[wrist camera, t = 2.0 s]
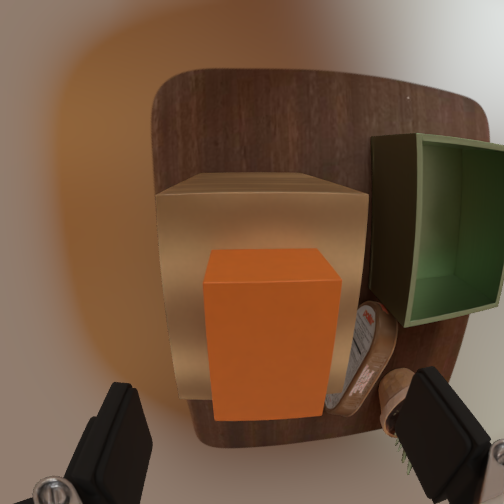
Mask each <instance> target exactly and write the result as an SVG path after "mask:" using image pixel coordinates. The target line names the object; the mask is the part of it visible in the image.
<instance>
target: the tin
mask: <svg viewBox="0 0 504 504" xmlns="http://www.w3.org/2000/svg"><path fill="white" fill-rule="evenodd" d="M397 335H398V320H397V319H396V318H395V317H394V316H393V315H392V314H391V312H390V311H389V310H388V309H387V308H386V307H385V306H384V305H383V304H382V303H379V302H375V301H366V302H364V303H362V304H361V305H360V306H359V307H358V308H357V315H356V322H355V328H354V334H353V340H352V345H351V351H350V356H349V362H348V367H347V372H346V377H345V381H344V386H343V391H342V393H334V394H326V397H325V402H324V409H325V411H326V412H327V413H329V414H334V415H341V416H344V417H349V416H351V415H353V414H354V413H355V412H356V411H357V410H358V409H359V408H360V406H361V405H362V403H363V402H364V400H365V398H366V397H367V395H368V394H369V392H370V391H371V389H372V388H373V386H374V384H375V383H376V381H377V380H378V378H379V376H380V375H381V373H382V371H383V370H384V368H385V366H386V365H387V363H388V361H389V359H390V358H391V356H392V353H393V351H394V348H395V345H396V341H397Z"/></svg>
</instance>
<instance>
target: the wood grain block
mask: <svg viewBox="0 0 504 504" xmlns="http://www.w3.org/2000/svg"><path fill="white" fill-rule="evenodd" d="M155 202H156V219H157V233H158V246H159V255H160V256H159V257H160V268H161V277H162V286H163V295H164V304H165V312H166V319H167V327H168V333H169V341H170V347H171V354H172V360H173V366H174V372H175V378H176V384H177V389H178V395H179V399H197V400H212V392H211V382H210V372H209V361H208V350H207V338H206V326H205V312H204V298H203V280H204V276H205V272H206V268H207V264H208V261H209V257H210V253H211V250H227V249H300V248H317V249H318V250H319V251H320V253H321V254H322V255H323V256H324V257H325V259H326V260H327V261H328V262H329V264H330V265H331V266H332V267H333V269H334V270H335V271H336V272H337V274H338V275H339V276H340V277H341V279H342V288H341V297H340V305H339V314H338V321H337V329H336V336H335V343H334V350H333V356H332V362H331V369H330V375H329V380H328V386H327V392H326V394H334V393H342V391H343V386H344V381H345V377H346V372H347V367H348V362H349V356H350V351H351V345H352V340H353V334H354V328H355V322H356V315H357V308H358V302H359V294H360V287H361V279H362V271H363V262H364V252H365V242H366V231H367V218H368V203H369V194H366V193H363V192H360V191H357V190H354V189H351V188H348V187H345V186H342V185H339V184H335V183H332V182H329V181H326V180H322V179H319V178H316V177H312V176H309V175H306V174H302V173H296V172H221V173H199V174H197V175H195V176H193V177H191V178H189V179H187V180H185V181H183V182H181V183H178V184H176V185H174V186H172V187H170V188H168V189H166V190H164V191H162V192H160V193H158V194H156V195H155Z"/></svg>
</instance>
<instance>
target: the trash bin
mask: <svg viewBox="0 0 504 504" xmlns="http://www.w3.org/2000/svg"><path fill="white" fill-rule="evenodd" d="M371 157H372V230H371V254H370V271H369V285H368V288H369V289H370V290H371V291H372V292H373V293H374V295H375V296H376V297H377V298H378V299H379V300H380V301H381V302H382V303H383V305H384V306H385V307H386V308H387V309H388V310H389V311H390V312H391V314H392V315H393V316H394V317H395V318H396V319H397V320H398V321H399V323H400V324H401V325H402V326H403V327H404V328H405V327H411V326H416V325H421V324H426V323H431V322H436V321H440V320H445V319H449V318H454V317H458V316H463V315H467V314H471V313H475V312H479V311H483V310H487V309H491V308H494V307H498V304H499V299H500V295H501V291H502V286H503V281H504V145H499V144H494V143H488V142H482V141H476V140H470V139H463V138H455V137H448V136H439V135H430V134H421V133H410V134H396V135H384V136H373V137H371Z"/></svg>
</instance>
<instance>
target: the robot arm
mask: <svg viewBox="0 0 504 504" xmlns="http://www.w3.org/2000/svg"><path fill="white" fill-rule="evenodd" d="M395 433H396V435H397V437H398V439H399V441H400V443H401V445H402V447H403V449H404V451H405V453H406V455H407V457H408V459H409V461H410V463H411V465H412V467H413V469H414V471H415V473H416V475H417V477H418V479H419V481H420V483H421V485H422V487H423V490H424V492H425V494H426V496H427V497H428V498H429V499H432V501H433V503H434V504H436V503H439V502H441V501H444V500H446V499H448V501H449V504H504V439H499V440H497V441H495V442H494V443H493V444H491V443H490V440H491V438H490V437H489V435H488V434H487V433H486V431H485V430H484V429H483V427H482V426H481V425H480V423H479V422H478V421H477V419H476V418H475V417H474V415H473V414H472V413H471V412H470V410H469V409H468V408H467V406H466V405H465V404H464V403H463V401H462V400H461V399H460V398H459V396H458V395H457V394H456V392H455V391H454V390H453V389H452V388H451V386H450V385H449V384H448V383H447V381H446V380H445V379H444V378H443V376H442V375H441V374H440V373H439V372H438V370H437V369H436V368H435V367H433V366H431V367H426V368H421V369H418V370H417V372H416V374H414V375H413V377H412V380H411V383H410V386H409V389H408V391H407V394H406V397H405V400H404V403H403V405H402V408H401V411H400V413H399V416H398V418H397V421H396V423H395ZM152 443H153V442H152V438H151V435H150V432H149V428H148V425H147V422H146V419H145V415H144V413H143V409H142V405H141V402H140V398H139V395H138V391H137V389H136V388H132V385H131V384H129V383H119V382H114V383H113V384H112V385H111V387H110V389H109V391H108V393H107V396H106V398H105V400H104V402H103V404H102V406H101V408H100V410H99V413H98V415H97V417H92V418H90V420H89V422H88V424H87V426H86V428H85V430H84V432H83V434H82V437H81V439H80V441H79V443H78V445H77V448H76V450H75V452H74V454H73V457H72V459H71V461H70V463H69V466H68V468H67V470H66V473H65V475H64V477H63V478H62V477H60V476H49V477H45V478H43V479H41V480H40V481H39V482H38V483H37V484H36V485H35V487H34V489H33V494H32V495H33V497H32V498H29V499H26V500H23V501H20V502H17V503H14V504H140V500H141V495H142V491H143V486H144V481H145V478H146V473H147V469H148V465H149V460H150V456H151V452H152V446H153V444H152Z"/></svg>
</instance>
